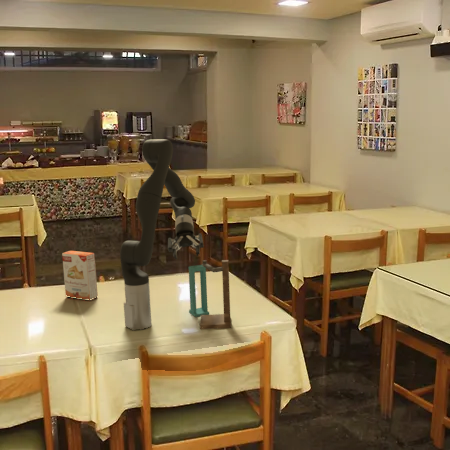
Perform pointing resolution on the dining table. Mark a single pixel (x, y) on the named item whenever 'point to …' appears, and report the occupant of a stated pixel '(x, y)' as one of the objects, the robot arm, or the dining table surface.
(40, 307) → the dining table surface
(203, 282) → the teal loop
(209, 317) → the hook stand
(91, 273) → the cracker box
